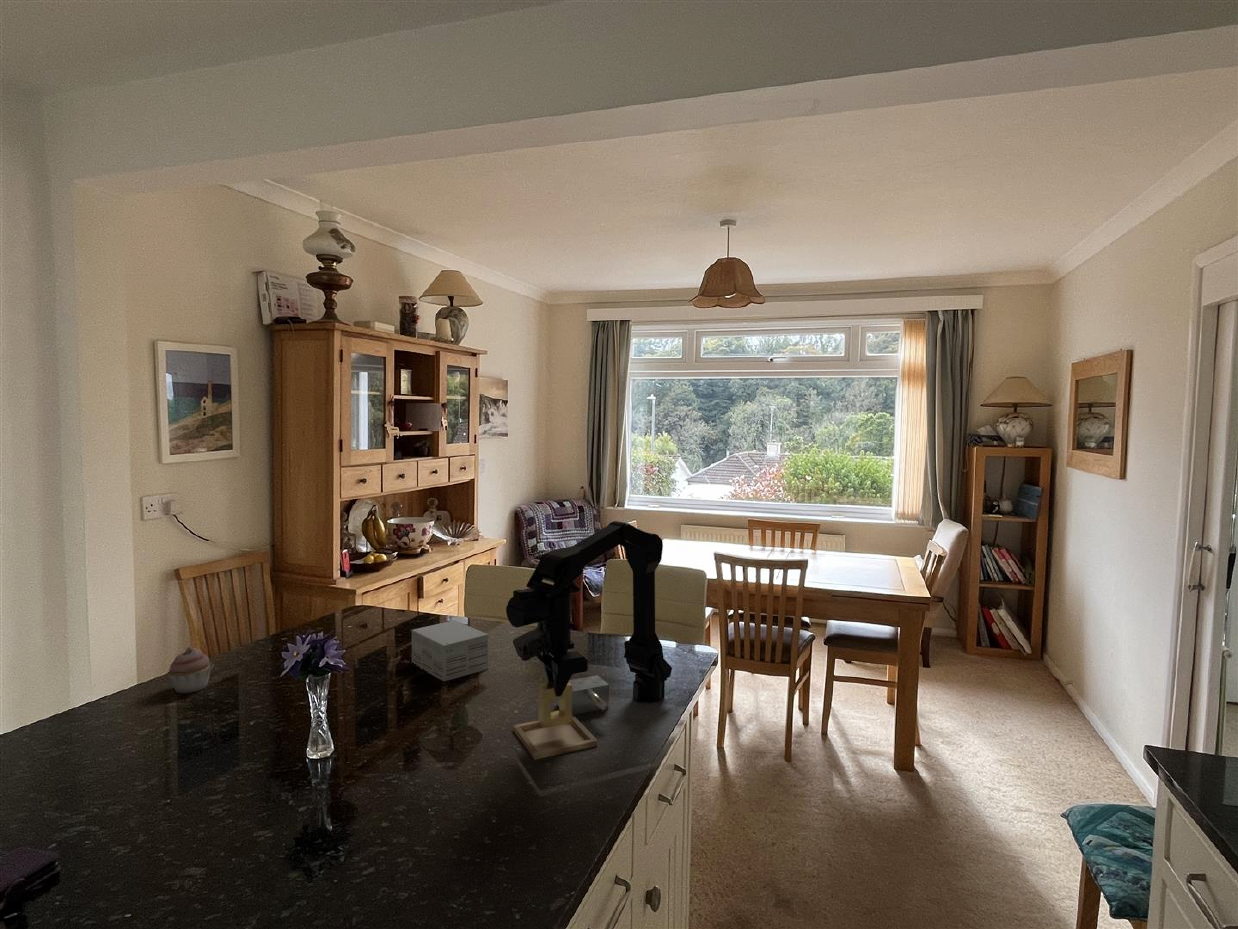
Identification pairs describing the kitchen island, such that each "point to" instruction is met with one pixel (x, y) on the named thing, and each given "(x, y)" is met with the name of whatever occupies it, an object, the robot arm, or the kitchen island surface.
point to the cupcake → (190, 671)
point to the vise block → (589, 694)
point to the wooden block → (545, 698)
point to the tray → (554, 738)
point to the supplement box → (450, 650)
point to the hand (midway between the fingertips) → (555, 693)
